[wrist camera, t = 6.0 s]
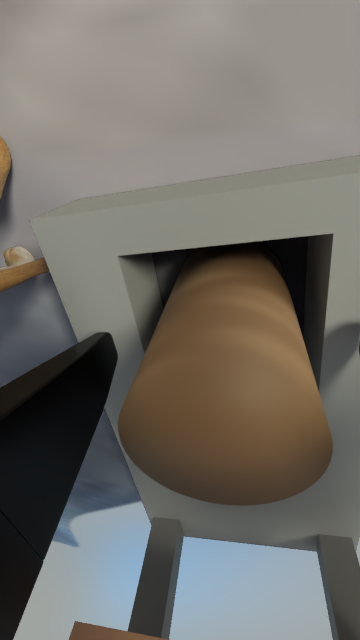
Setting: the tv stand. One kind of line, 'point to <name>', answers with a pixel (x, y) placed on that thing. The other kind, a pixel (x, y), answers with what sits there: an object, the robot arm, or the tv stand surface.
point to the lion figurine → (17, 257)
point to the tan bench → (162, 572)
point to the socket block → (146, 309)
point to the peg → (228, 386)
